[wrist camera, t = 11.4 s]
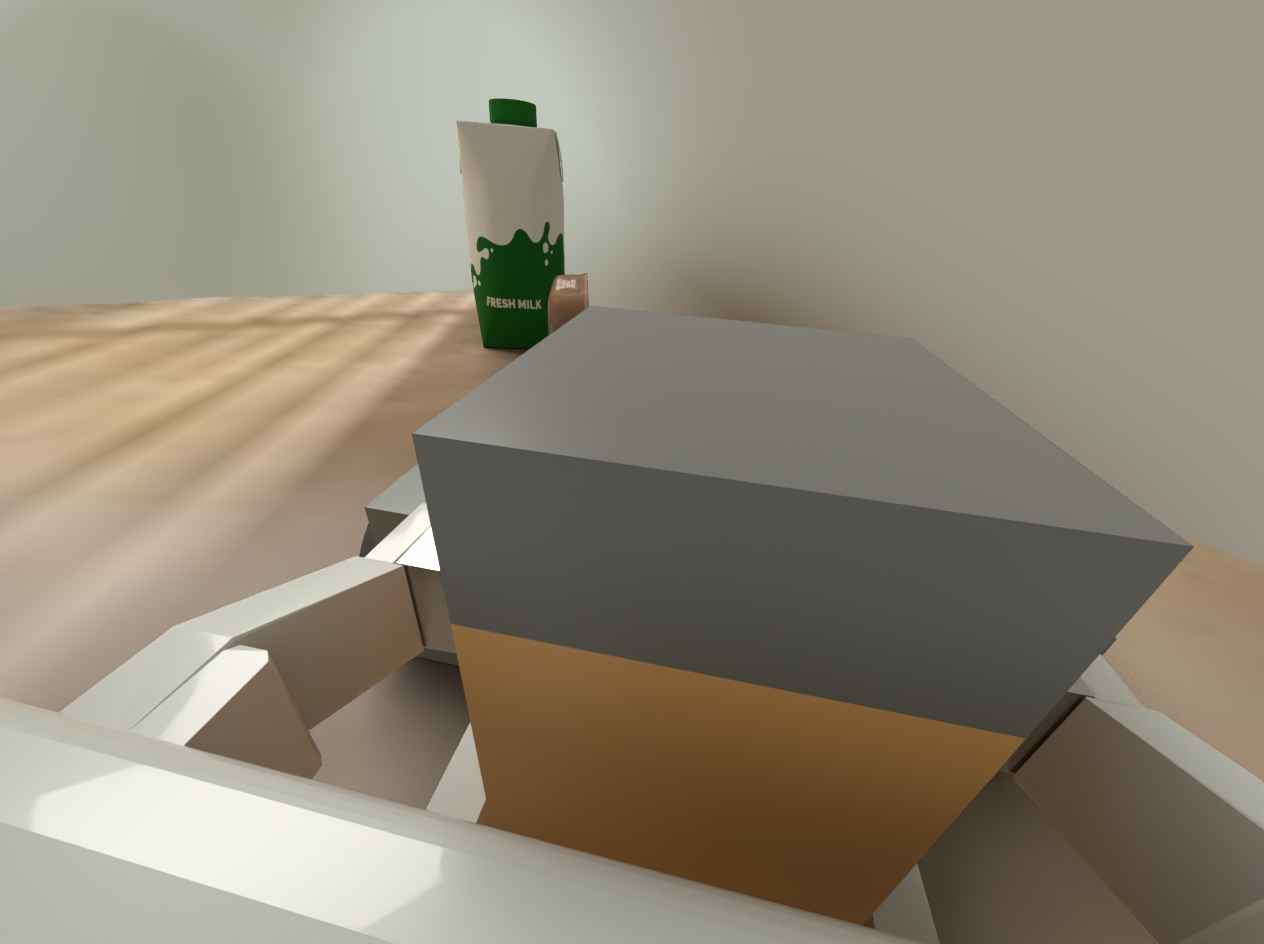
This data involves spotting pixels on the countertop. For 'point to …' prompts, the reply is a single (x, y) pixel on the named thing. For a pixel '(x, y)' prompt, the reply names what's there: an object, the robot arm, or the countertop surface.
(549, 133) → the milk carton
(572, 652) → the orange gray block
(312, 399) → the countertop surface
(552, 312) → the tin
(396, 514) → the gray toy machine
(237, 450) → the countertop surface
